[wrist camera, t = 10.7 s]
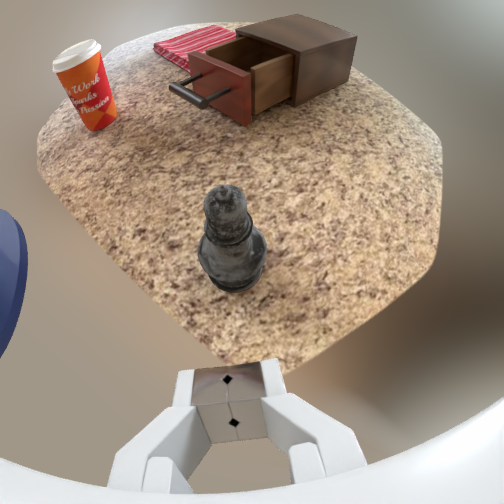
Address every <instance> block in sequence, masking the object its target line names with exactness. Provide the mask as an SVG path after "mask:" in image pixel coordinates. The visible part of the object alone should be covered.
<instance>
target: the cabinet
mask: <svg viewBox="0 0 504 504" xmlns="http://www.w3.org/2000/svg"><path fill="white" fill-rule="evenodd" d="M235 31H236V38H239V37H242V36H246V37H249V38H252V39H255V40H258V41H261V42H264V43H267V44H269V45H272V46H275V47H277V48H280V49H282V50H285V51H287V52H290V53H292V54H295V66H294V77H293V88H292V96H291V97H289V98H287V99H285V100H283V101H284V102H286V103H288V104H290V105H291V106H293V107H297V106H298V105H300V104H302V103H304V102H306V101H308V100H310V99H312V98H314V97H316V96H318V95H320V94H322V93H324V92H326V91H328V90H330V89H332V88H334V87H336V86H338V85H340V84H342V83H344V82H347V81H348V78H349V74H350V70H351V65H352V61H353V56H354V51H355V46H356V41H357V35H355V34H352V33H350V32H347V31H345V30H342V29H340V28H337V27H334V26H332V25H329V24H327V23H324V22H321V21H318V20H315V19H312V18H309V17H305V16H302V15H299V14H295V15H290V16H285V17H280V18H275V19H271V20H267V21H263V22H259V23H255V24H251V25H248V26H244V27H241V28H237V29H235Z"/></svg>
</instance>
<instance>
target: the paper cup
mask: <svg viewBox="0 0 504 504" xmlns="http://www.w3.org/2000/svg"><path fill="white" fill-rule="evenodd" d="M101 48H102V47H101V45H99V44H98V43H97V42H95V40H93V39H90V40H86V41H83V42H80V43H78V44H75V45H73V46H72V47H70V48H68V49H66V50H65V51H63V52H62V53H60V55H59V56H57V58H56V59H55V60H54V61H53V72H54V73H56V74H57V76H58V78H59V80H60V81H61V83H62V85H63V87H64V89H65V90H66V92H67V94H68V96H69V98H70V100H71V101H72V103H73V105H74V107H75V108H76V110H77V112H78V114H79V115H80V117H81V119H82V120H83V122H84V124H85V125H86V127H87V128H88V129H89V130H91V131H96V130H100V129H102V128H104V127H106V126H108V125H109V124H111V123H112V122H113V121H114V120H115V118H116V117H117V110H116V106H115V103H114V99H113V96H112V93H111V89H110V86H109V82H108V79H107V75H106V72H105V68H104V65H103V61H102V57H101V54H100V49H101Z"/></svg>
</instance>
